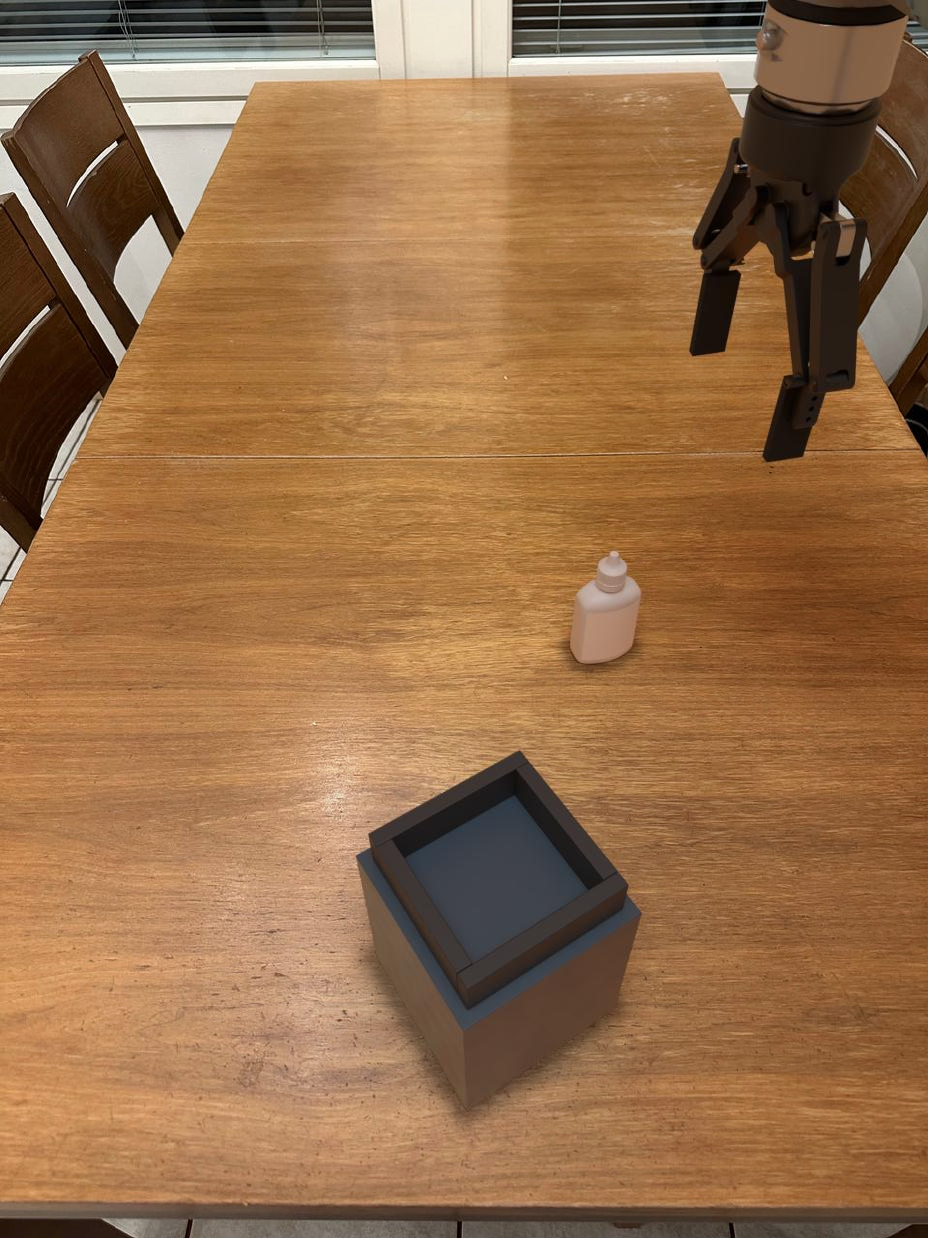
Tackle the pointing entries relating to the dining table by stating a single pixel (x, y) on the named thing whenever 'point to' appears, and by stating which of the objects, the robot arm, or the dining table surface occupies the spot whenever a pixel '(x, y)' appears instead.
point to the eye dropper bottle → (605, 613)
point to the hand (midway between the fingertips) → (742, 401)
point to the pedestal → (497, 924)
